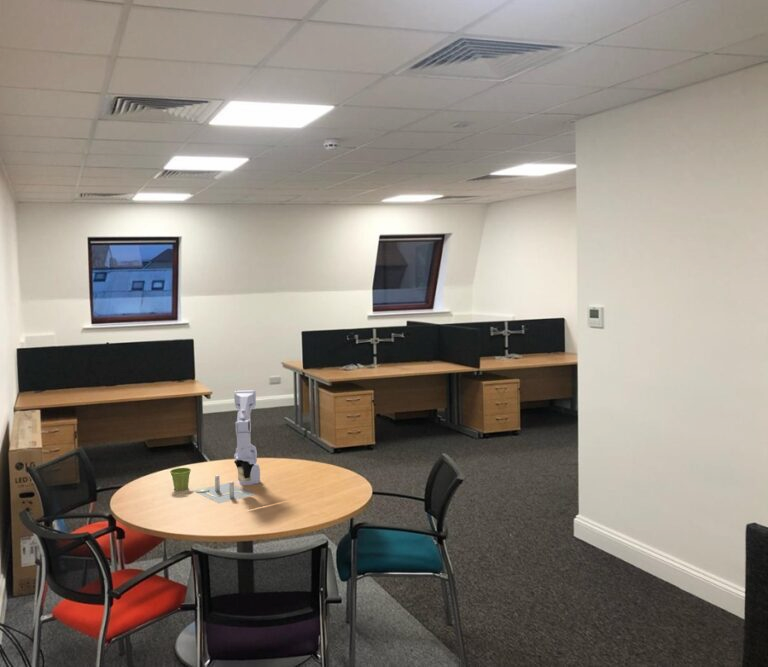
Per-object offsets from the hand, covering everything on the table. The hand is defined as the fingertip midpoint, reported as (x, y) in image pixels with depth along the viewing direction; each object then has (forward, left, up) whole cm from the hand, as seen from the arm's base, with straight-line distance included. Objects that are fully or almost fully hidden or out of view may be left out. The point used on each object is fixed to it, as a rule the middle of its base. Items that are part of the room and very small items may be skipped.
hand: (244, 476), depth 324 cm
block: (0, 0, -2) cm, 2 cm away
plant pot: (+17, -29, -9) cm, 35 cm away
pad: (+12, -17, -8) cm, 22 cm away
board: (+6, -8, -8) cm, 13 cm away
